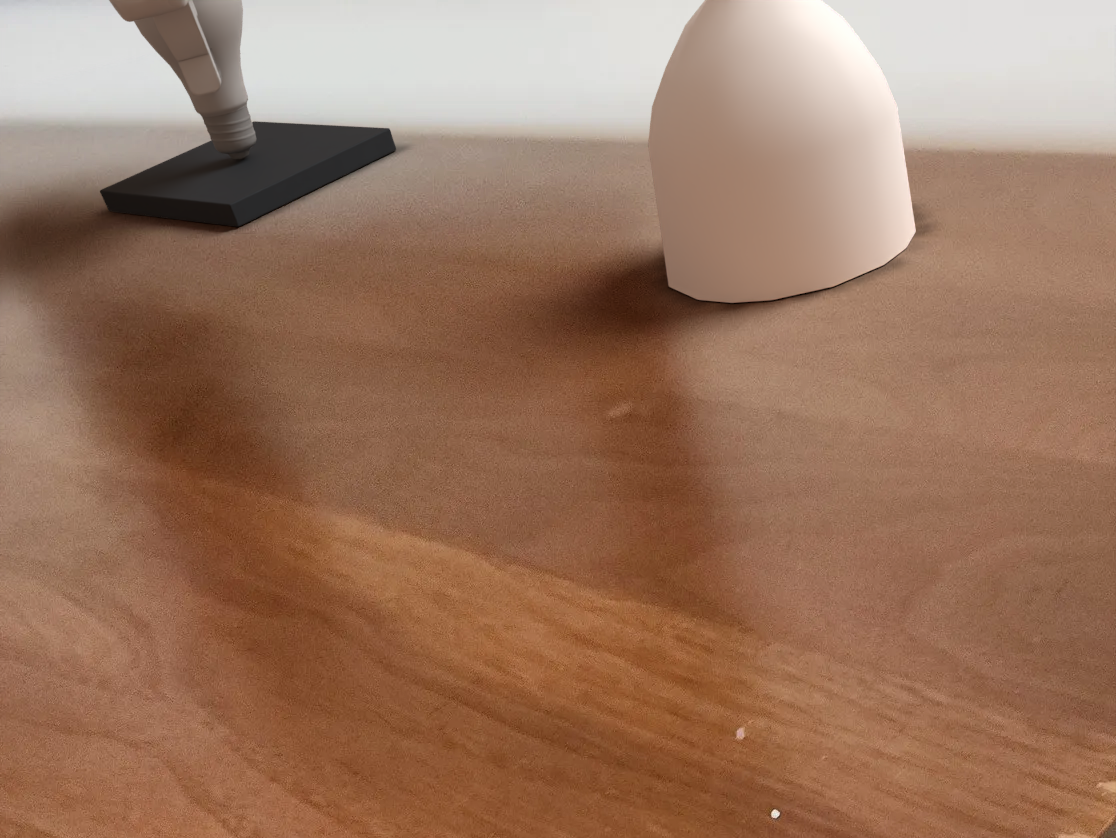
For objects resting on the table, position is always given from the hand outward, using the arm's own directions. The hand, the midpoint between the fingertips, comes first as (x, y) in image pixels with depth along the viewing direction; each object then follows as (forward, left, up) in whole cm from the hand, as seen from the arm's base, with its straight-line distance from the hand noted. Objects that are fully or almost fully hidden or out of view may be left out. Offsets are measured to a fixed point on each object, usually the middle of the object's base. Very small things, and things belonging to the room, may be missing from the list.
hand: (215, 77), depth 83 cm
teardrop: (+27, -34, -6) cm, 44 cm away
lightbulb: (0, 0, -4) cm, 4 cm away
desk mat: (0, 0, -5) cm, 5 cm away
